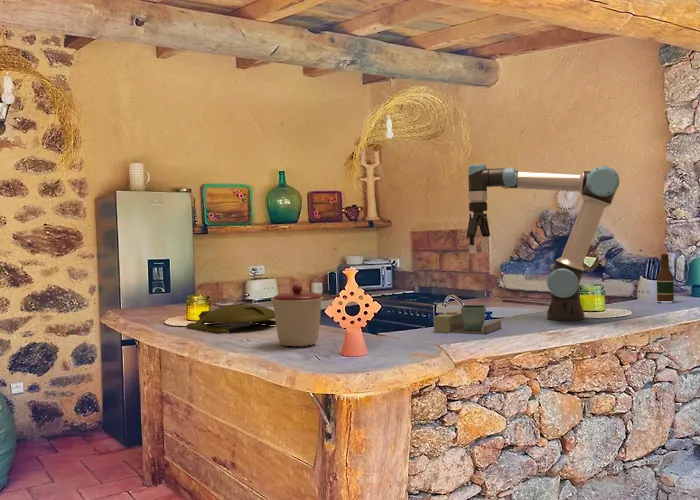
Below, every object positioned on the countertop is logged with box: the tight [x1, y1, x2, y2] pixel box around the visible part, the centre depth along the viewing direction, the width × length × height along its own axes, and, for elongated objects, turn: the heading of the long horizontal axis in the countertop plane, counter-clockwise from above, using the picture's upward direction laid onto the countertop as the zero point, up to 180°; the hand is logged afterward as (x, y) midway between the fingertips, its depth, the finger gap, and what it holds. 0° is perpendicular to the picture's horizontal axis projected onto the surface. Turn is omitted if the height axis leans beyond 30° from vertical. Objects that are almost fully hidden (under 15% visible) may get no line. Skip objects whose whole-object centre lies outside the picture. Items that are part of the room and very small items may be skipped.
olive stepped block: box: [433, 310, 462, 334], centre depth 273 cm, size 6×20×7 cm, turn 148°
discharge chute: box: [451, 319, 502, 335], centre depth 267 cm, size 14×16×3 cm
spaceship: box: [186, 304, 276, 334], centre depth 293 cm, size 35×31×10 cm
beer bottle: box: [656, 253, 675, 301], centre depth 342 cm, size 8×8×24 cm
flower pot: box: [460, 304, 487, 331], centre depth 265 cm, size 9×9×9 cm
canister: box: [270, 284, 324, 348], centre depth 243 cm, size 18×18×21 cm
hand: (479, 252), depth 292 cm, fingers open, 13 cm apart
